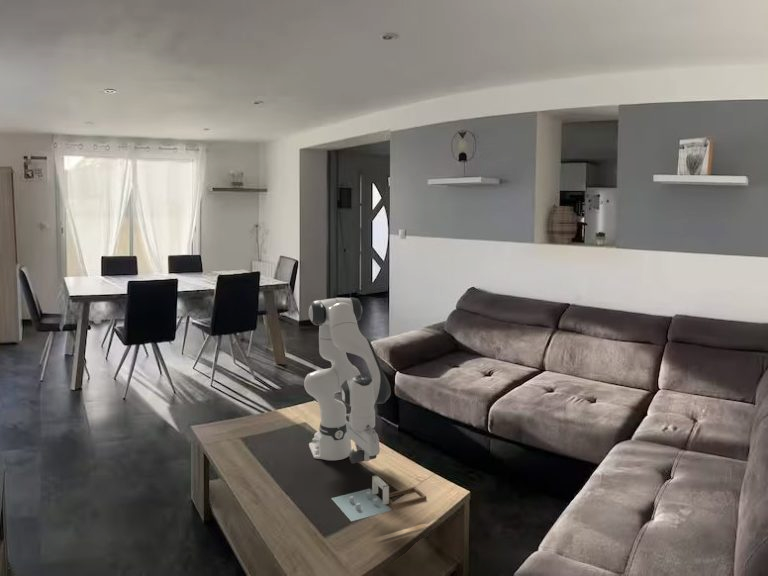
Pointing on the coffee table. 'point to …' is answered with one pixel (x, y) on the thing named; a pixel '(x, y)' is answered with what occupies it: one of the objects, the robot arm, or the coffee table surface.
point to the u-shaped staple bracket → (379, 482)
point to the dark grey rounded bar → (359, 456)
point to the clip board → (360, 504)
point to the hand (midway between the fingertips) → (363, 457)
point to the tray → (421, 498)
